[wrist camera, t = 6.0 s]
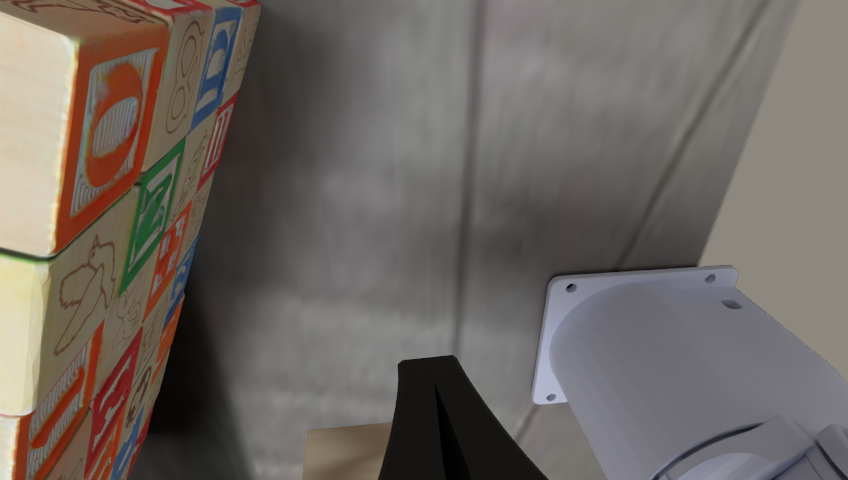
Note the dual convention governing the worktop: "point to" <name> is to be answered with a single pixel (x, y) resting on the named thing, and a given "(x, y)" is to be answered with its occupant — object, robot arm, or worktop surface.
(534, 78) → the worktop surface
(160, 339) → the stack of blocks
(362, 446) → the plain maple block
